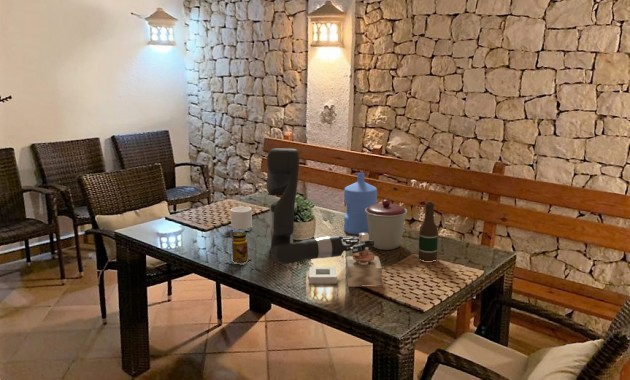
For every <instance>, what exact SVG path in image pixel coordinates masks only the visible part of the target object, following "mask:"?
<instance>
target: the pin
mask: <svg viewBox="0 0 630 380" xmlns="http://www.w3.org/2000/svg"><path fill="white" fill-rule="evenodd" d="M358 237H359V241H369V234H368V233H359V235H358ZM369 249H370V247H365V250H364V251H361V252H358V253H355V254H354V253H352V256H353V259H354V260H356V261H359V265H368V262H369V261H372V260H374V259H375V256H376V255H375V253H373V252H371V251H369Z"/></svg>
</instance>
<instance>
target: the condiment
mask: <svg viewBox="0 0 630 380" xmlns="http://www.w3.org/2000/svg"><path fill="white" fill-rule="evenodd" d="M231 241H232V243H231V247H232V258H233V261H234V262H237V263H244V262H246V261H248V259H249V255H248V253H249V252H248V239H247V234H246V232H243V233H242V232H234V233H233V234H232V240H231Z"/></svg>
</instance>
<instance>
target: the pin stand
mask: <svg viewBox="0 0 630 380" xmlns="http://www.w3.org/2000/svg"><path fill="white" fill-rule="evenodd" d="M308 271H309V276H308V277H309V281H308V283H309V285H310V284H337V283H338V281H337V280H338V273H337V267H336V266H310V267H309V270H308Z"/></svg>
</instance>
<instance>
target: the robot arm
mask: <svg viewBox="0 0 630 380" xmlns="http://www.w3.org/2000/svg"><path fill="white" fill-rule="evenodd" d="M266 166H267V173H266V174H267V177H266V190H267V193H268V194H269V195H270V196H281V197H280V198H278V200H277V201H275V202H272V203H271V204H270V254H271V257H272V258H273V260H274V261H276V262H277V263H280V264H283V265H290V264H294V263H298V262H302V261H304V260H306V261H307V260H315V259H327V258H328V259H329V258H335V257H341V256H342V255H343V253H344V252H351V251H352V254H353V253H354V254H355V253H358V252H361V251H364V250H365V247H369V248H371V247H373V246H374V241H373V240H369V241H359V236H356V235H338V234H337V235H329V236H327V235H326V236H320V237H316V238H310V239H303V240H300V241H299V242H298V241H297V242H294V226H295V219H294V218H295V203H296V198H297V197H296V195H297V188H298V180H299V171H300V154H299V150H297V149H296V148H285V147H284V148H282V147H281V148H279V147H275V148H274V147H273V148H271V149H270V150H269V151H268V154H267V157H266ZM373 248H374V247H373Z"/></svg>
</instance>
